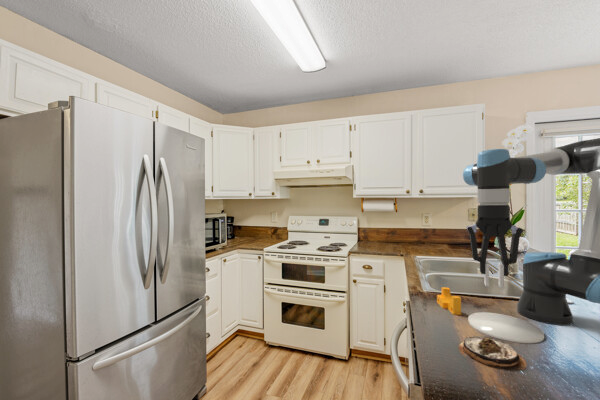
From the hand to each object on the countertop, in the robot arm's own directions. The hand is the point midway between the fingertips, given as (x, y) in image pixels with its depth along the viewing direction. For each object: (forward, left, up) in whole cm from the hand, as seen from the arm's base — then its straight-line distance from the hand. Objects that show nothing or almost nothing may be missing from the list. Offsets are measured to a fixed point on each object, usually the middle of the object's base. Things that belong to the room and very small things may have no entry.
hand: (493, 285), depth 78 cm
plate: (-5, -16, -18) cm, 25 cm away
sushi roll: (-4, +4, -21) cm, 21 cm away
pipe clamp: (+11, -27, -18) cm, 34 cm away
